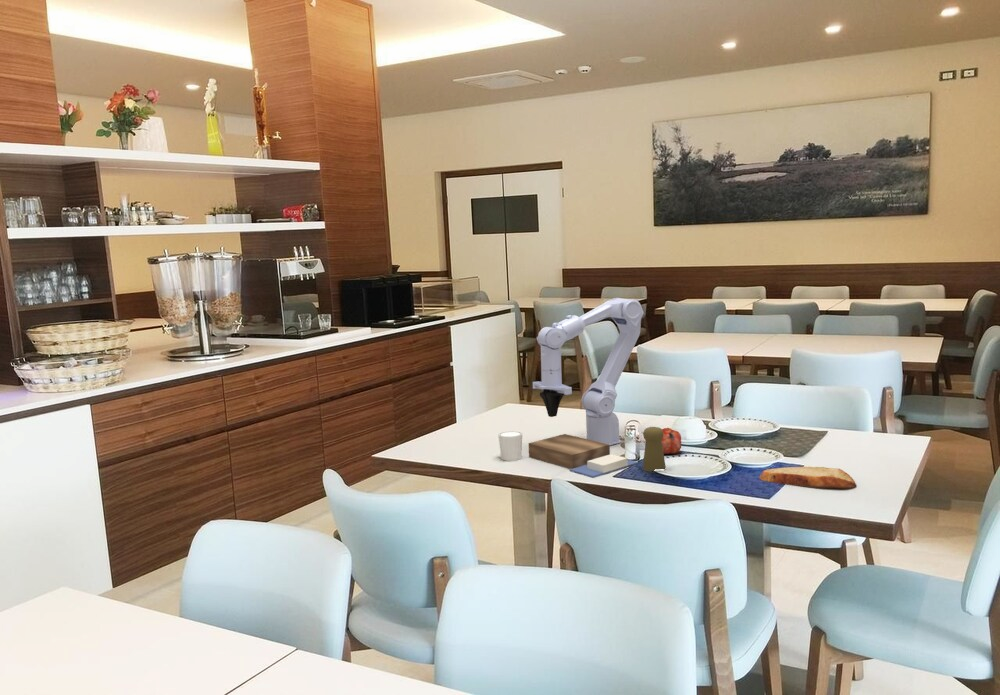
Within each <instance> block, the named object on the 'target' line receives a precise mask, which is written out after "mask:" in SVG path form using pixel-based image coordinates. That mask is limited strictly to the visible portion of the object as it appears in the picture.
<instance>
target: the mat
mask: <svg viewBox="0 0 1000 695" xmlns="http://www.w3.org/2000/svg"><path fill="white" fill-rule="evenodd" d="M627 461H628V466H625V467H621V468H618V469H615V470H612V471H609V472H605V473H602V472H598V471H595V470H591V469H588V468H587V465H583V466H580V467H577V468H573V469H569V472H572V473H576V474H579V475H581V476H582V475H583V476H585V477H589V478H593V479H594V478H596V477H599V476H603V475H607V474H609V473H614V472H616V471H619V470H622V469H626V468H629V467H633V466H635V465H638V464H639V462H638V461H635V460H631V459H627Z"/></svg>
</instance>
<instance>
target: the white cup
mask: <svg viewBox="0 0 1000 695" xmlns="http://www.w3.org/2000/svg"><path fill="white" fill-rule="evenodd" d="M498 443H499V450H500V457H501V460H503V461H507V462H514V461H519V460H521V459H522V450H523V433H522V432H520V431H515V430H514V431H505V432H503V431H502V432H500V433H498Z"/></svg>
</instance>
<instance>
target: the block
mask: <svg viewBox="0 0 1000 695" xmlns="http://www.w3.org/2000/svg"><path fill="white" fill-rule="evenodd" d="M627 460H628V457H624V456H621V455H615V454H612V453H610V455H606V456H603V457H600V458H596V459H593V460H589V461H587V468H588V469H591V470H595V471H598V472H602V473H605V472H609V471H612V470H615V469H618V468H621V467H625V466H628V461H627Z"/></svg>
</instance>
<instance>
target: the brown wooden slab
mask: <svg viewBox="0 0 1000 695" xmlns="http://www.w3.org/2000/svg"><path fill="white" fill-rule="evenodd" d="M610 448H611V445H610V444H605V443H601V442H597V441H593V440H588V439H587V438H584V437H580V436H575V435H571V434H567V433H563V434H559V435H555V436H551V437H548V438H544V439H540V440H536V441H534V442H533V441H531V442H528V457H529V458H531V459H535V460H538V461H542V462H546V463H548V464H552V465H556V466H560V467H564V468H566V469H569V470H570V469H573V468H577V467H580V466H583V465H587V461H589V460H593V459H596V458H600V457H603V456H606V455H610V454H611V450H610Z"/></svg>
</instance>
